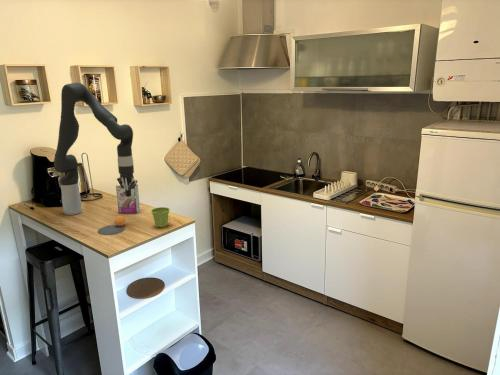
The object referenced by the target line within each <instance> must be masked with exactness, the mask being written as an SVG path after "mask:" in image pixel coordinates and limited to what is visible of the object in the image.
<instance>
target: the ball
mask: <svg viewBox="0 0 500 375" xmlns="http://www.w3.org/2000/svg"><path fill="white" fill-rule="evenodd" d="M126 222H127V219H126V218H125V216H123V215H117V216H116V217H115V218H114V225H117V226H125V225H126Z"/></svg>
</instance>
